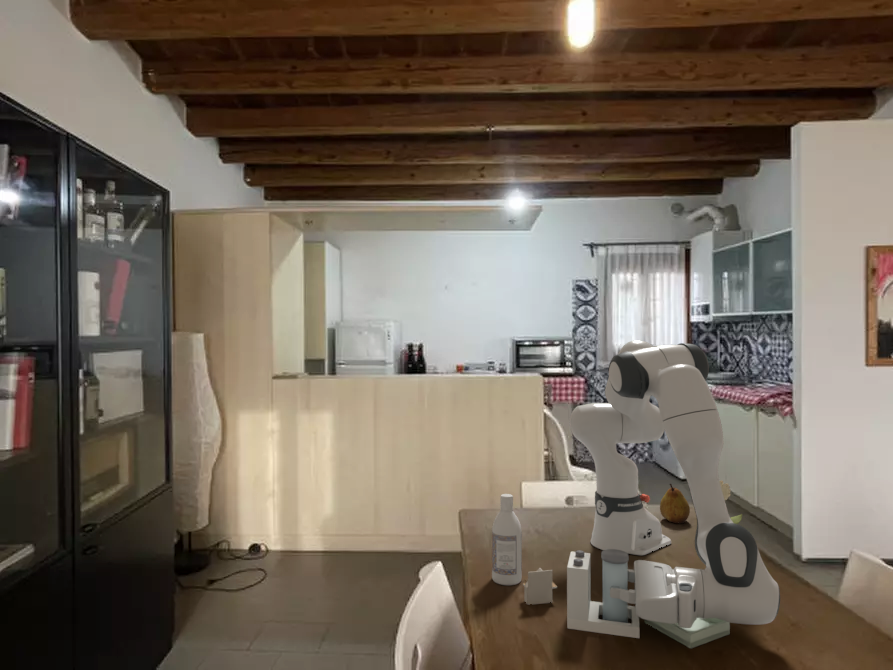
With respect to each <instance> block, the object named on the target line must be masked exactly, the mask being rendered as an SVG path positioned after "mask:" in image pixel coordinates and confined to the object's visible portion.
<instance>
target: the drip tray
mask: <svg viewBox="0 0 893 670" xmlns="http://www.w3.org/2000/svg"><path fill="white" fill-rule="evenodd" d="M644 624H645V625H647V624H648V625H647V626H649V625H650V627H651V626H652V627H651V628H653V629H655V630H656V629H657V631H659V632H660V633H662V634H664V635H665V636H667V637H669V638H671V639H673V640H674V641H676V642H678V643H680V644H682V645H684V646H686V647H687V648H688V649H693V648H696V647H699V646H701V645H704V644H707V643H709V642H712V641H714V640H718V639H721V638H723V637H725V636H729V635H730V633H731V632H730V631H731V630H730V629H731V623H730V622H726V621H723V620H721V619H717V618H709V619H698V618H697V619H696V620H695V621H694V623H693V625H692V627H691V628H683V627H680V626H679V625H678V622H677V623H675V624H667V623H660V622H654V621H649V620H645V619H644Z"/></svg>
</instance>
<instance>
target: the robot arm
mask: <svg viewBox="0 0 893 670" xmlns="http://www.w3.org/2000/svg"><path fill="white" fill-rule="evenodd" d="M709 371H710V365H709V361H708V357H707V355H706V354H705V351H703V349H702V348H700V347H699V346H698V345H697V344H693V343H685V342H683V343H681V342H680V343H678V344H661V345H652V344H651V343H649V342H647V341H645V340H639V339H637V340H631V341H628V342H626V343H624V345H623V346H622V347H621V348H620V350H619V351H618V353H617V354H616V355H613V356H612V358H611V360H610V361H609V365H608V379H607V382H606V385H605V390H604V394H605V398H606V400H607V402H591V403H587V404H581V405H577V406H576V407H574V408H573V410H572V412H571V414H570V417H569V429H570V431H571V433H572V435H573V437H574V438H575V439H576V440H577V441H579V442H580V443H582V444H583V446H585V448H586V449H587V450H588V452H589V453H590V455H591V457H592V459H593V463H594V467H595V477H596V479H595V480H596V490H595V492H594V506H595V514H594V521H593V529H592V532H591V538H590V545H592V546H593V547H595V548H597V549H600V550H601V551H603V550H607V549H616V550H621V551H624V552H626V553H628V555H629V554H630V555H635V556H646V555H647V554H650V553H652V551H653V552H654V551H657V550H659V548H660V549H661V547H662V548H664V547H666V545H667V546H669V545H671V544H672V540H671V538H670V537H668V536H666V535H665V534H663V530H662V524H661V522H660V519H659V518H658V517H657V516H655V515H654V514H653V513H651V512H650V511H649V510H647V509H646V508H645V507H644V504H643V502H644V503H647V504H648V503H650V501H651V496H650V495H648V494H645V493H642V494H640V493H639V469H638V466H637V463H636V462H634V460H632V459H631V458H629V457H628V456H626V455H623V454H621V453H619V452H618V450H617V445H618V444H644V443H650V442H654V441H658V440H660V438H662V437H663V435H664V432H665V435H666V436H667V439H668V442H669V445H670V446H671V449H672V450H673V453H674V455H675V457H676V459H677V461H678V463H679V466H680V467H681V469H682V471H683V473H684V476H685V479H686V483H687V485H688V489H689V492H690V493H689V494H690V497H691V502H692V505H693V508H694V512H695V513H694V514H695V517H696V528H695V529H696V530H695V534H694V536H695V537H694V549H695V552H696V555H697V557H698V559H699V560H700V561H701V562H702V563H703V565H704V566H705V568H704V569H703V568H692V567H691V568H690V567H683V566H682V567H681V566H675V567H674V568H672V567H671V566H670V565H668V564H666V563H663V562H658V561H657V562H656V561H651V560H644V559H643V560H642V559H638V560H634V562H633V569H632V568H631V569H630V568H628V583H634V589H630V588H629V589H628V590H625V589H621V588H620V587H619V586H611V587H610V597H611V598H617V599H621V600H623V601H625V602H627V603H628V604H631V605H632V604H633V605H635V606H634V607H636V615H637V616H638V617H639V619H642V620H644V621H645V620H649V621H654V622H660V623H667V624H675V623H677V622H678V625H679V626H680V627H683V628H691V627H692V625H693V623H694V621H695V620H696V619H697V618H698V619H709V618H717V619H721V620H723V621H726V622H730V624H741V625H767V624H770V623H772V622H773V621H774V620H776V618H777V616H778V614H779V610H780V606H781V605H780V604H781V590H780V586H779V584H778V582H777V581H776V580H775V578H773V577H772V575H771V573H770V572H769V571H768V569H767V567H766V565H765V563H764V561H763V558H762V556H761V554H760V550H759V548H758V545H757V542H756V540H755V538H754V536H753V535H752V533H751V532H750V531H749V530H748V529H746V528H745V527H744V526H742V525H740V524H739V523H738V524H735V523H733V522H732V520H731V518H730V517H731V516H730V514H729V511H728V508H727V507H728V506H727V504H726V500H724V496H723V492H722V489H721V485H720V481H721V480H720V475H719V464H720V463H719V462H720V458H721V455H722V451H723V448H724V431H723V426H722V421H721V417H720V414H719V411H718V408H717V404H716V402H715V399H714V397H713V394H712V392H711V389H710V387H709V385H708V383H707V379H708V376H709ZM651 397H654V398H655V399H656V401H657V402H656V403H657V404H658V406H657V405H654V404H653V403H651V402H650V399H651Z"/></svg>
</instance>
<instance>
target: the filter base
mask: <svg viewBox="0 0 893 670" xmlns="http://www.w3.org/2000/svg"><path fill="white" fill-rule="evenodd" d="M591 581H592V580H591V553H590V552H585V551H584V550H580V549H579V550H576V551H570V554H569V558H568V562H567V566H566V603H567V604H566V609H567V610H566V612H567V613H566V616H567V617H566V623H567V625H566V626H567V630H568V629H569V630H577V631H583V632H591V633H598V634H605V635H612V636H613V635H614V636H620V637H626V638H634V639H635V638H636V639H640V617H638V616H637V615H636V606H634V605H633V606H632V605H628V620H631V623H630V622H628V623H623V622H615V621H608V620H603V619H600V616H603V601H602V602H601V601H594V600H593V601H592V600H591V598H592V597H591V594H592V593H591Z"/></svg>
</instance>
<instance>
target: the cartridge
mask: <svg viewBox="0 0 893 670" xmlns="http://www.w3.org/2000/svg"><path fill="white" fill-rule="evenodd" d="M600 555H601V556H600V557H601V561H602V603H603V615H602V620H608V621H615V622H623V623H629V618H628V606H629V603H627V602H625V601H623V600H621V599H617V598H611V597H610V587H611V586H619V587H620V588H621V589H625V590H629V589H628V583H629V581H628V569H629V567H628V562H629V554H628V553H626V552H624V551H621V550H616V549H607V550H601V554H600Z"/></svg>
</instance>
